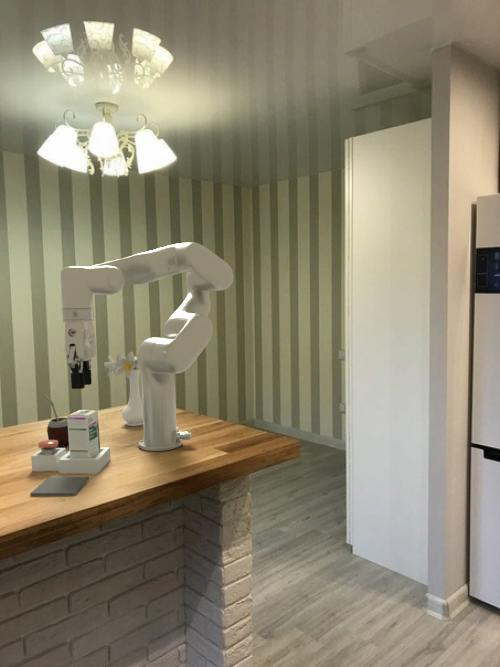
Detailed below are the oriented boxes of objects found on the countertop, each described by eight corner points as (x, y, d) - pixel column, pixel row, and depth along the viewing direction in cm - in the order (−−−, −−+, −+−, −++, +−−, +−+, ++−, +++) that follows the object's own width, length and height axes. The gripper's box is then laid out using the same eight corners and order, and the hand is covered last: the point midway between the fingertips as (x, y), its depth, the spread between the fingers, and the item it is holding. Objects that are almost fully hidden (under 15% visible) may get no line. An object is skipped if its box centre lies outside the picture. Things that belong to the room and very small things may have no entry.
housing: (110, 460, 141) (109, 445, 141) (98, 473, 131) (97, 457, 131) (45, 460, 142) (44, 446, 141) (28, 473, 132) (28, 458, 132)
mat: (89, 479, 127) (89, 476, 127) (74, 495, 117) (74, 492, 117) (48, 479, 128) (48, 477, 128) (30, 495, 118) (30, 493, 118)
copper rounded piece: (62, 461, 139) (61, 439, 139) (54, 467, 134) (53, 445, 134) (44, 461, 139) (43, 439, 139) (36, 467, 134) (35, 445, 134)
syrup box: (90, 471, 133) (88, 415, 132) (69, 469, 134) (66, 414, 133) (101, 463, 139) (98, 409, 137) (81, 462, 140) (78, 409, 139)
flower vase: (116, 418, 186) (113, 348, 184) (165, 420, 183) (163, 349, 181) (99, 428, 174) (96, 353, 171) (152, 430, 170) (149, 353, 168)
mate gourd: (72, 448, 152) (69, 397, 151) (43, 451, 150) (40, 399, 149) (74, 441, 159) (72, 392, 158) (47, 443, 158) (44, 394, 156)
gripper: (81, 317, 124) (85, 393, 126) (103, 313, 141) (106, 380, 143) (50, 317, 125) (54, 393, 126) (75, 314, 141) (79, 380, 143)
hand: (81, 385), depth 135 cm, fingers open, 4 cm apart
